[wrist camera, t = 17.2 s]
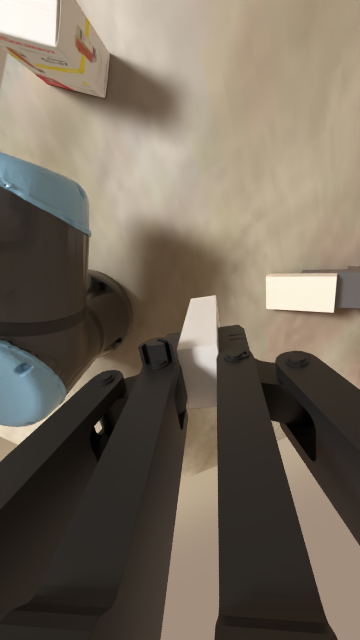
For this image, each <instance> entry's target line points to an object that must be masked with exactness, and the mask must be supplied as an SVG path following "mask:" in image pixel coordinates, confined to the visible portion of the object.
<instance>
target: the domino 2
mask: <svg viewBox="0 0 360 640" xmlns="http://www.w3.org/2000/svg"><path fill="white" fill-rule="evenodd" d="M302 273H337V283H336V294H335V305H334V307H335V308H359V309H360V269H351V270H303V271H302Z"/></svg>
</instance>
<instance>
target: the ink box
mask: <svg viewBox="0 0 360 640" xmlns="http://www.w3.org/2000/svg"><path fill="white" fill-rule="evenodd" d="M0 47H1V48H3V49H4V50H5V51H7V52H8V53H9V54H10V55H12V56H13V57H14V58H15V59H17V60H18V61H19V62H20V63H22V64H23V65H24V66H25V67H27V68H28V69H29V70H30V71H32V72H33V73H34V74H35V75H37V76H38V77H39V78H41V79H42V80H43V81H44V82H45V83H47V84H50V85H54V86H58V87H62V88H66V89H70V90H74V91H78V92H82V93H86V94H90V95H94V96H98V97H102V98H105V96H106V89H107V81H108V70H109V59H110V53H109V52H108V50H107V49H106V47H105V45H104V44H103V42H102V41H101V39H100V38H99V36H98V34H97V33H96V31H95V30H94V28H93V27H92V25H91V24H90V22H89V20H88V19H87V17H86V16H85V14H84V13H83V11H82V9H81V8H80V6H79V5H78V3H77V1H76V0H0Z"/></svg>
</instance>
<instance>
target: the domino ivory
mask: <svg viewBox="0 0 360 640" xmlns="http://www.w3.org/2000/svg"><path fill="white" fill-rule="evenodd" d="M336 283H337V273H298V274H268V275H267V276H266V309H279V310H297V311H314V312H332V313H334V305H335V294H336Z"/></svg>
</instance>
